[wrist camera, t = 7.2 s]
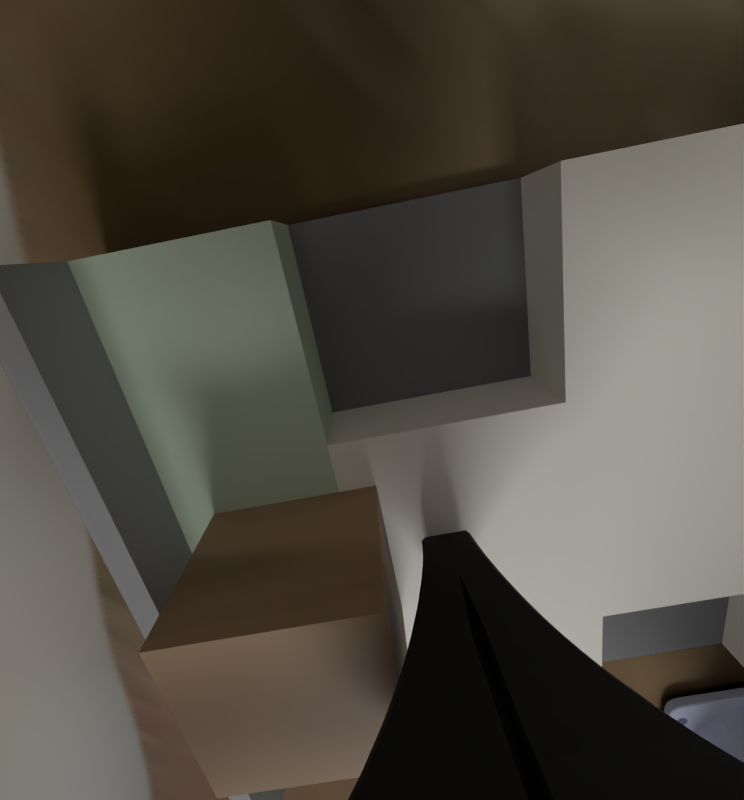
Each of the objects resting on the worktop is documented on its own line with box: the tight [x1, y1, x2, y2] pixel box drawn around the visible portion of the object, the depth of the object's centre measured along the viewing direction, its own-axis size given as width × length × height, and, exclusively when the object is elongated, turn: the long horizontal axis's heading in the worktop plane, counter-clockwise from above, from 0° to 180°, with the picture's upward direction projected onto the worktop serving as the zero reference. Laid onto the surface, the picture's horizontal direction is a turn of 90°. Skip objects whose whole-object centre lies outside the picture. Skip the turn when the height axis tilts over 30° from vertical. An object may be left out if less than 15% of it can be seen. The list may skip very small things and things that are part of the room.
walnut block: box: [139, 486, 407, 798], centre depth 10 cm, size 4×4×4 cm
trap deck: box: [0, 124, 744, 800], centre depth 12 cm, size 18×30×4 cm, turn 101°
